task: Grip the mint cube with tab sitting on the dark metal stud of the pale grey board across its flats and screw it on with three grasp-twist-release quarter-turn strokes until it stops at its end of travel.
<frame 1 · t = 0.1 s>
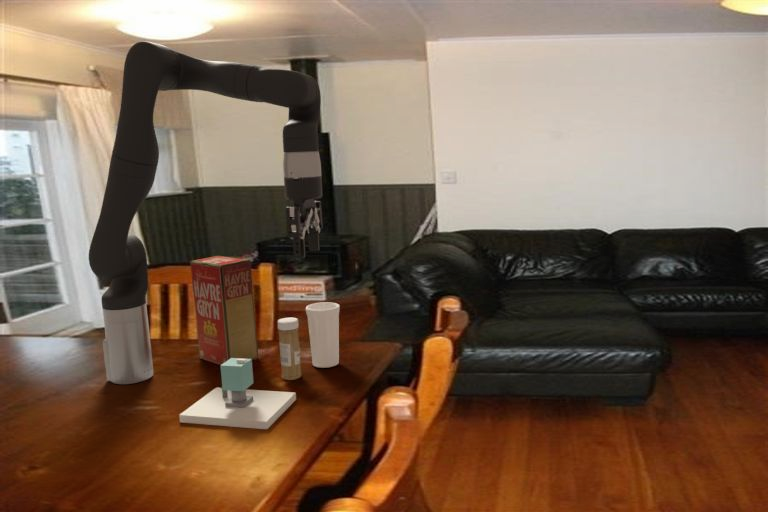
hand: (307, 254, 127), 29 cm above the table, tool pointing down, fingers open, 8 cm apart
sprinkles bottle: (291, 377, 140), on the table
mint cube with tab: (237, 372, 121), point 8 cm above the table, hinge at 0.0°
food packaging: (228, 359, 155), on the table
stud board: (240, 410, 123), on the table
cup: (325, 365, 147), on the table
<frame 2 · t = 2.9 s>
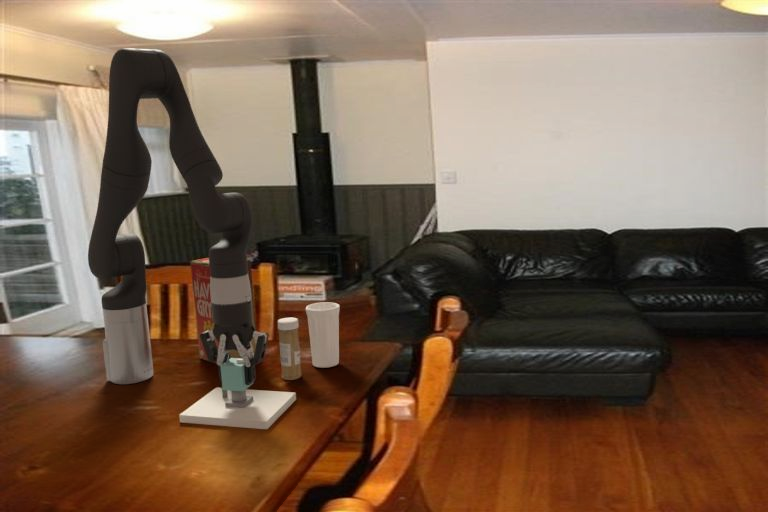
hand: (238, 382, 122), 6 cm above the table, tool pointing down, fingers closed on mint cube with tab, 4 cm apart
mint cube with tab: (237, 372, 121), point 8 cm above the table, hinge at -0.1°, touching gripper
everything else where it was.
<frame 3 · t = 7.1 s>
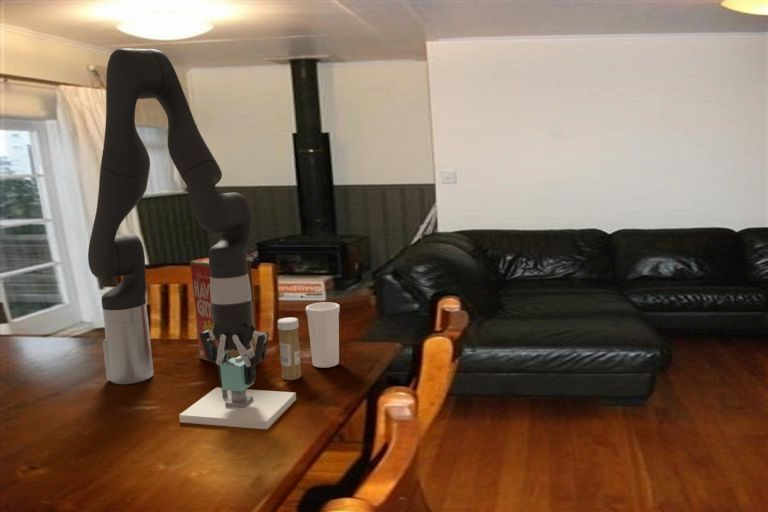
hand: (237, 382, 122), 6 cm above the table, tool pointing down, fingers closed on mint cube with tab, 4 cm apart
mint cube with tab: (237, 372, 121), point 8 cm above the table, hinge at 85.4°, touching gripper
everything else where it was.
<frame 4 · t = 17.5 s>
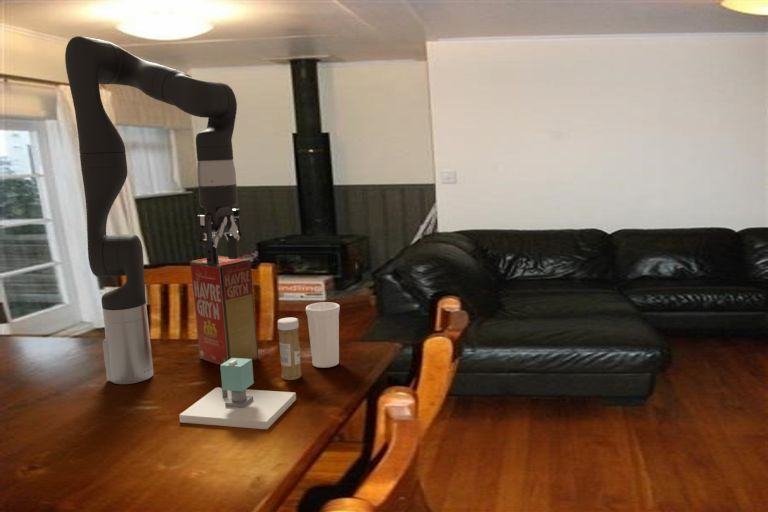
hand: (223, 262, 128), 28 cm above the table, tool pointing down, fingers open, 8 cm apart
mint cube with tab: (237, 372, 121), point 8 cm above the table, hinge at 266.9°
everything else where it was.
at the end: mint cube with tab at +267° (first picture: +0°); the gripper is holding nothing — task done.
